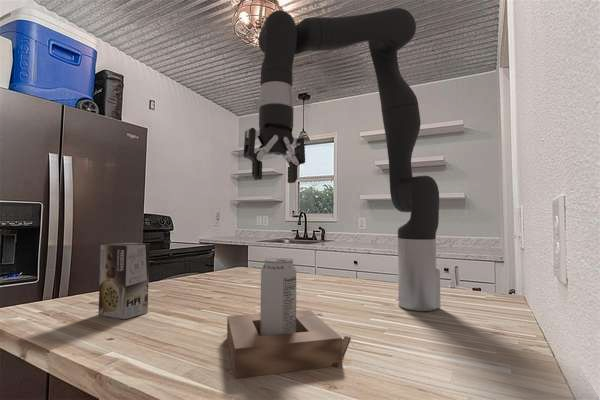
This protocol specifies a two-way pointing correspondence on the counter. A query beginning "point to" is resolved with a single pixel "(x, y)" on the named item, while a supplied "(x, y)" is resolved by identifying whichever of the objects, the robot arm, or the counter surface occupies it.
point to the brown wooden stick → (344, 346)
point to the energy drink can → (278, 297)
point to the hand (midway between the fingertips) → (275, 181)
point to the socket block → (281, 346)
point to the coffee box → (124, 280)
